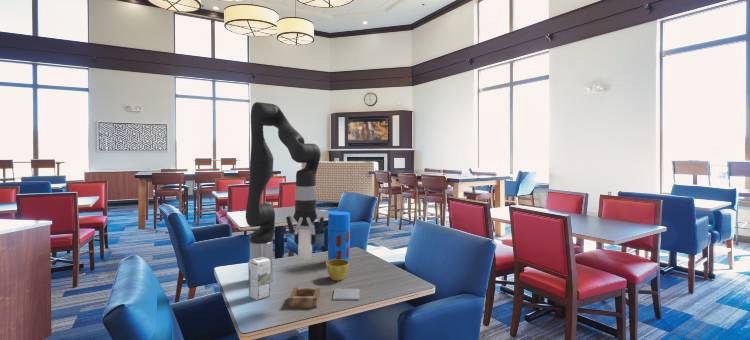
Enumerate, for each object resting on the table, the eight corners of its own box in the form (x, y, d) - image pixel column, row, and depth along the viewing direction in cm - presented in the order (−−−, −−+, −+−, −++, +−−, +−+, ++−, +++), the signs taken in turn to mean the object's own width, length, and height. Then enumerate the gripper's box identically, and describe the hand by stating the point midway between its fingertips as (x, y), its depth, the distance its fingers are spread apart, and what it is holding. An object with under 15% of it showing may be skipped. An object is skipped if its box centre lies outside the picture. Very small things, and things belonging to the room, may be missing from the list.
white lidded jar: (296, 259, 136) (296, 226, 135) (298, 255, 141) (299, 223, 141) (311, 259, 136) (311, 226, 135) (313, 255, 142) (313, 223, 141)
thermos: (353, 261, 191) (354, 212, 190) (341, 267, 182) (341, 215, 181) (336, 258, 197) (337, 210, 196) (323, 263, 188) (323, 213, 187)
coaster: (332, 300, 142) (332, 298, 142) (334, 290, 152) (334, 288, 152) (359, 300, 142) (359, 298, 142) (359, 290, 152) (359, 288, 152)
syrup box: (261, 292, 148) (261, 256, 147) (270, 296, 144) (270, 259, 144) (248, 296, 144) (248, 259, 143) (257, 300, 140) (257, 262, 139)
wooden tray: (288, 307, 134) (288, 297, 134) (293, 296, 144) (294, 287, 144) (316, 307, 135) (316, 298, 135) (320, 296, 145) (320, 287, 144)
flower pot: (340, 284, 159) (340, 267, 159) (321, 279, 164) (321, 263, 163) (353, 277, 168) (353, 261, 167) (334, 273, 173) (334, 258, 172)
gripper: (283, 199, 134) (283, 246, 135) (324, 199, 134) (323, 247, 135) (288, 196, 141) (287, 241, 142) (326, 197, 142) (325, 242, 142)
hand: (305, 244), depth 139 cm, fingers closed on white lidded jar, 5 cm apart
